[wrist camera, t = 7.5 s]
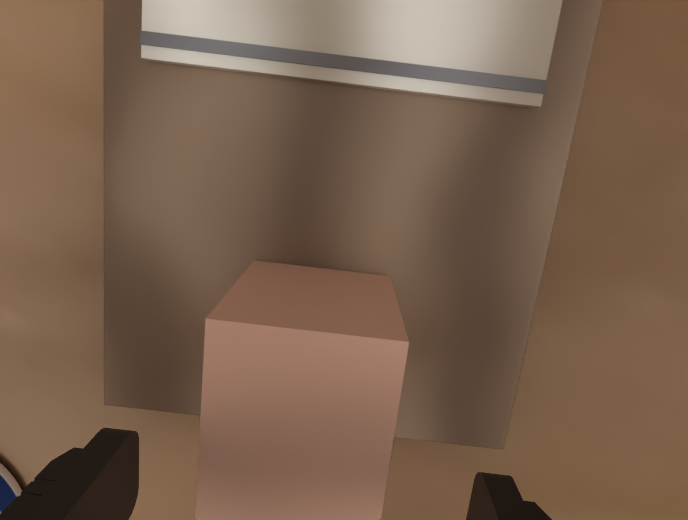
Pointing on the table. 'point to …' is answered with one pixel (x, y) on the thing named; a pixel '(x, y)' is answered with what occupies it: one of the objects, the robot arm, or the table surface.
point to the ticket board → (338, 179)
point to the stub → (300, 395)
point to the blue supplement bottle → (7, 488)
